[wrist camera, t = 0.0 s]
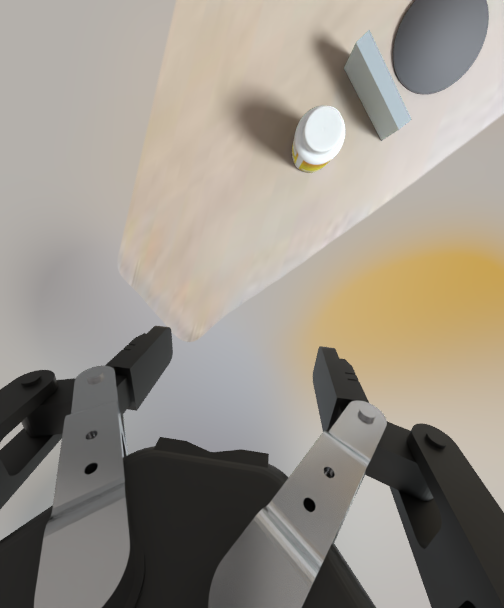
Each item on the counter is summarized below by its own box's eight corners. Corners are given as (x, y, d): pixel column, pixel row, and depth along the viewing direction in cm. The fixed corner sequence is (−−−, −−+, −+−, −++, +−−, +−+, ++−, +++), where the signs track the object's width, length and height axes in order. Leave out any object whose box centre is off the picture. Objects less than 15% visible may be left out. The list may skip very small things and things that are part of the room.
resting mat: (409, -22, 26) (410, -24, 26) (503, -19, 25) (506, -22, 25) (382, 92, 30) (383, 91, 30) (463, 96, 29) (465, 95, 29)
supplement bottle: (338, 153, 33) (362, 132, 24) (305, 182, 35) (316, 173, 25) (316, 117, 32) (332, 79, 22) (283, 149, 33) (285, 126, 24)
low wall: (343, 68, 29) (356, 42, 25) (354, 57, 29) (369, 29, 24) (381, 140, 32) (398, 129, 27) (391, 132, 31) (411, 119, 27)
